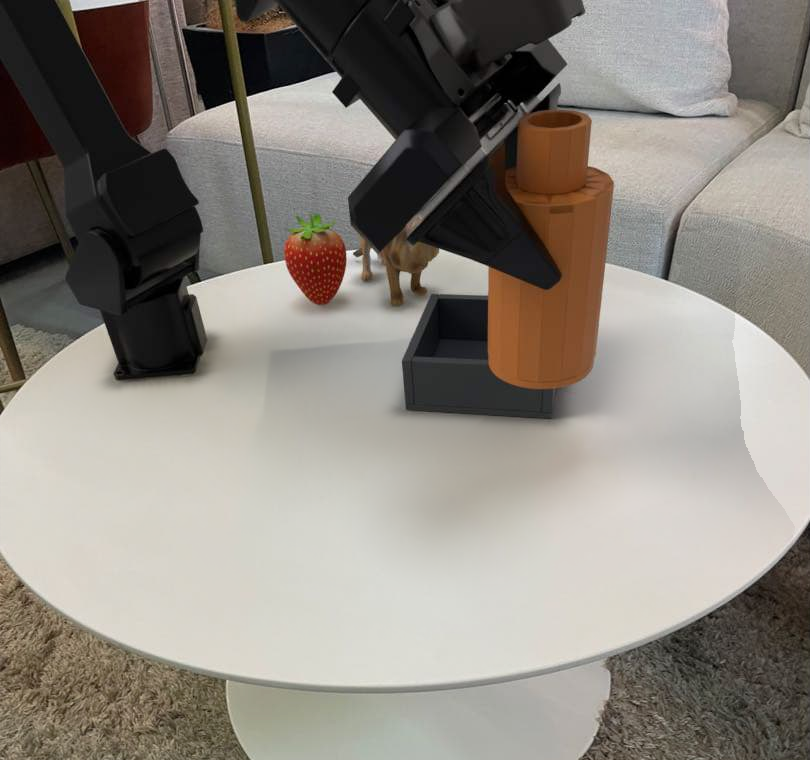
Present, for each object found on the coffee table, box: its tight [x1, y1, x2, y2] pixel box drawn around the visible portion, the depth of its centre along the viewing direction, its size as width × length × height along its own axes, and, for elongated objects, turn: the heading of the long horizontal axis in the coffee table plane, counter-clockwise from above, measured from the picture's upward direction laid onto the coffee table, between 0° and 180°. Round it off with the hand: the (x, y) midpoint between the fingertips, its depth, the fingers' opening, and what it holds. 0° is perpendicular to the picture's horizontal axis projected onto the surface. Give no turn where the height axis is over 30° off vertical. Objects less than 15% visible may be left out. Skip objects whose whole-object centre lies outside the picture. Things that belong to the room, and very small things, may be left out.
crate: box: [401, 293, 557, 420], centre depth 59 cm, size 10×10×4 cm
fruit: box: [283, 211, 348, 306], centre depth 69 cm, size 5×5×8 cm
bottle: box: [487, 108, 615, 389], centre depth 44 cm, size 6×6×14 cm
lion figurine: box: [352, 215, 440, 307], centre depth 71 cm, size 15×5×9 cm, turn 33°
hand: (571, 258), depth 44 cm, fingers closed on bottle, 6 cm apart
